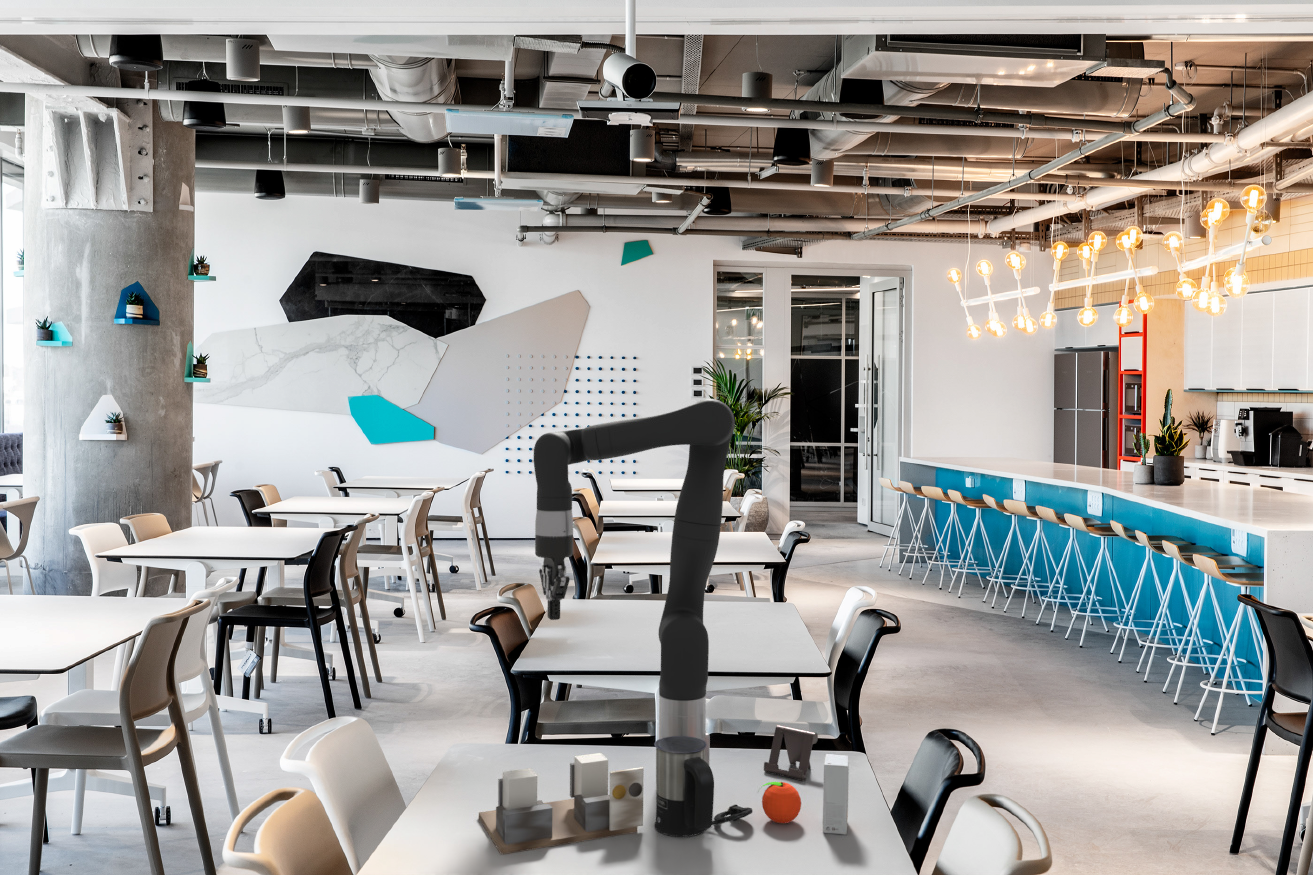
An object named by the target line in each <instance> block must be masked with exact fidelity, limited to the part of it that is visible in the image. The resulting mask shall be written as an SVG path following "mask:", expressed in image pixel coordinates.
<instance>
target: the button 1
mask: <svg viewBox="0 0 1313 875" xmlns="http://www.w3.org/2000/svg"><path fill="white" fill-rule="evenodd" d="M497 782H498V783H497V784H498V786H497V787H498V788H497V789H498V792H497V797H498V798H497V800H498V801H497V803H498V804H497V806H504V808H505V809H506V810H510V809H516V808H523V807H530V806H537V801H538V775H537V774H536V772H535V771H534V770H533V769H532V767H531V768H530V767H529V768H523V769H515V770H514V769H513V770H508V771H507V770H506V771H502V778H498V781H497Z"/></svg>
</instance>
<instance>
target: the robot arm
mask: <svg viewBox="0 0 1313 875" xmlns="http://www.w3.org/2000/svg"><path fill="white" fill-rule="evenodd" d="M735 427H736V420H735V415H734V413H733V411H732V409H731V408H730V407H729V406H728V405H727V404H726V403H724V402H723V401H721V400H719V399H715V398H704V399H701V400H700V401H697V402H696V403H694V404H691V405H687V406H685V407H683V408H680V409H677V410H674V411H670V412H666V413H662V414H657V415H652V416H645V417H639V418H638V417H637V418H629V419H621V420H617V421H609V422H605V423H603V422H602V423H598V424H593V425H590V426H586V427H584V428H578V429H571V430H562V431H555V432H554V431H553V432H546V433H544V434H542V435H541V436H540V437H538V439H537V440H536V442H535V444H534V448H533V466H534V474H535V475H534V476H535V482H536V489H537V490H536V491H537V492H536V513H535V514H536V515H535V526H534V527H535V528H534V530H535V532H534V533H535V534H534V535H535V536H534V537H535V538H534V541H535V542H534V543H535V544H534V545H535V546H534V551H535V552H534V553H535V556H536V557H538V558H541V559H543V562H542V563H543V565H542V566H541V568H539V570H538V571H539V572H538V573H539V576H540V582H541V588H542V593H543V595H544V596H545V599H546V600H547V619H549V620H550V621H556V620H560V619H561V601H562V600H564V599H565V597H566V595H567V591H568V587H569V583H570V580H571V579H570V576H569V575H567V566H566V564H565V559H566V558H570V557H572V556H573V554H574V518H573V489H572V488H573V487H572V484H571V483H570V481H569V465H574V464H578V463H583V462H584V463H585V462H587V461H601V460H607V459H609V460H610V459H613V458H614V459H615V458H619V457H623V456H629V455H632V454H633V455H634V454H636V453H642V452H644V451H649V450H653V449H658V448H663V447H665V448H666V447H670V446H683V445H687V446H689V450H688V451H689V452H688V461H687V469H686V474H685V477H684V480H683V483H682V486H681V489H680V493H679V495H678V499H677V500H678V501H677V504H676V508H675V513H674V519H673V527H672V535H671V546H670V558H669V560H670V561H669V582H668V589H667V594H666V598H665V603H664V606H663V611H662V615H661V619H660V622H659V626H658V640H659V643H660V677H659V682H658V740H659V739H662V738H666V737H672V736H688V737H695V738H699V739H701V740H704V741H705V742H706V743H707V747H706V748H705V761H706V762H707V763H708V765H709V766H710V751H711V750H710V746H711V745H710V743H711V742H710V741H711V740H710V739H711V738H710V737H711V736H710V734H709V733H708V732H706V731H707V729H706V727H707V726H706V724H707V723H706V722H707V721H706V720H707V684H708V679H709V655H710V654H709V651H710V650H709V649H710V648H709V645H710V644H709V643H710V641H709V634H708V630H707V628H706V626H705V625H704V604H705V592H706V586H707V583H708V579H709V576H710V574H711V571H712V568H713V564H714V562H715V560H716V559H715V558H716V557H717V556H716V555H717V553H718V552H717V551H718V547H719V542H720V534H721V528H722V519H723V518H722V517H723V508H724V507H723V505H724V504H723V503H724V478H725V477H724V476H725V475H724V473H725V468H726V463H727V458H728V453H729V449H730V446H731V441H732V437H733V434H734V430H735Z"/></svg>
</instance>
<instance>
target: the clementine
mask: <svg viewBox="0 0 1313 875" xmlns="http://www.w3.org/2000/svg"><path fill="white" fill-rule="evenodd" d="M765 786H768V787H767V788H765V790H764V793H763V795H762V797H761V799H762V800H761V806H762V809H763V811H764V814H765V816H767V818H768V819H769V820H771V821H772V822H774V823H777V824H789V823H790V822H792V821H794V820H795V819H796V818H797V817H798V815H799V813H800V812H801V808H802V807H801V806H802V800H801V799H802V798H801V796H800V794H799V791H798V790H797V788H796V787H794V786H793V785H792V784H790V783H788V782H785V781H771V782H766V783H765V784H762V787H765ZM759 791H760V789H758V791H757V793H756V794H758V793H759Z"/></svg>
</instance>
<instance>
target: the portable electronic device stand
mask: <svg viewBox="0 0 1313 875" xmlns="http://www.w3.org/2000/svg"><path fill="white" fill-rule="evenodd" d="M774 729H775V730H774V734H773V740H772V744H771V749H770V754H769V758H768V759H769V760H768V761H764V762H763V772H764V773H769V774H773V775H776V776H782V777H786V778H791V779H794V780H798V781H803V782H805V781H806V779H807V776H808V770H811V768H812V766H811V762H810V761H811V760H810V759H811V755H812V748H813V745H814V744H817V742H818V739H819V734H818V733H817V732H814V731H808V730H804V729H799V728H796V727H795V728H794V727H790V726H784V725H782V724H781V725H779V724H777V725H776V727H775V728H774ZM783 740H784V743H785V748H786V751H787V752H786V754H787V757H788V762H789V764H790V765H791V766H797V762H798V763H799V764H798V768H794V767H788V770H785V769H781V768H779V758H780V753H781V748H782V743H783Z"/></svg>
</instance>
